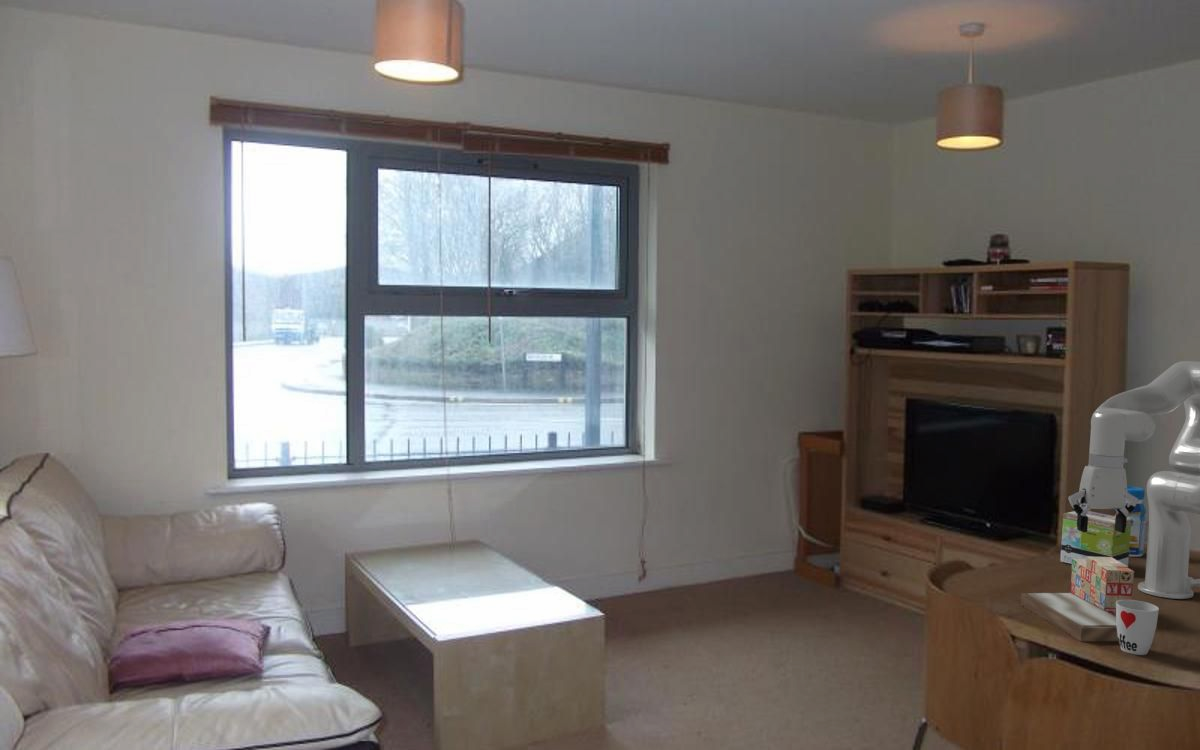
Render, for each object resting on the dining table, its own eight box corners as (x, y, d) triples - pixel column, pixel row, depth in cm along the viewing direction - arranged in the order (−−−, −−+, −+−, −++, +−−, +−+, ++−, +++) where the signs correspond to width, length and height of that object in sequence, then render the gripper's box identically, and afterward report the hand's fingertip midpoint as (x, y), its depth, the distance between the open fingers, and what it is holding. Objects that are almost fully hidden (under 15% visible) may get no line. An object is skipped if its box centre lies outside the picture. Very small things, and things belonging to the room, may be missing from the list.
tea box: (1059, 562, 289) (1062, 512, 287) (1077, 558, 295) (1080, 508, 293) (1111, 575, 277) (1114, 522, 275) (1129, 569, 283) (1132, 518, 281)
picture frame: (1071, 604, 248) (1072, 591, 247) (1136, 640, 222) (1137, 626, 222) (1020, 605, 246) (1021, 592, 246) (1080, 641, 221) (1081, 626, 220)
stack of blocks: (1069, 593, 258) (1072, 546, 257) (1094, 594, 257) (1097, 547, 256) (1103, 620, 237) (1106, 568, 236) (1131, 621, 236) (1134, 570, 235)
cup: (1105, 644, 219) (1108, 599, 218) (1140, 644, 220) (1143, 599, 219) (1127, 657, 211) (1130, 611, 210) (1164, 657, 212) (1167, 611, 211)
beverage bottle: (1150, 557, 297) (1154, 490, 296) (1126, 558, 295) (1130, 491, 294) (1129, 549, 306) (1133, 485, 304) (1105, 550, 304) (1109, 485, 302)
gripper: (1130, 460, 248) (1125, 528, 249) (1063, 458, 246) (1058, 527, 247) (1149, 465, 240) (1144, 535, 242) (1080, 463, 239) (1075, 534, 240)
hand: (1101, 531), depth 245 cm, fingers open, 9 cm apart
